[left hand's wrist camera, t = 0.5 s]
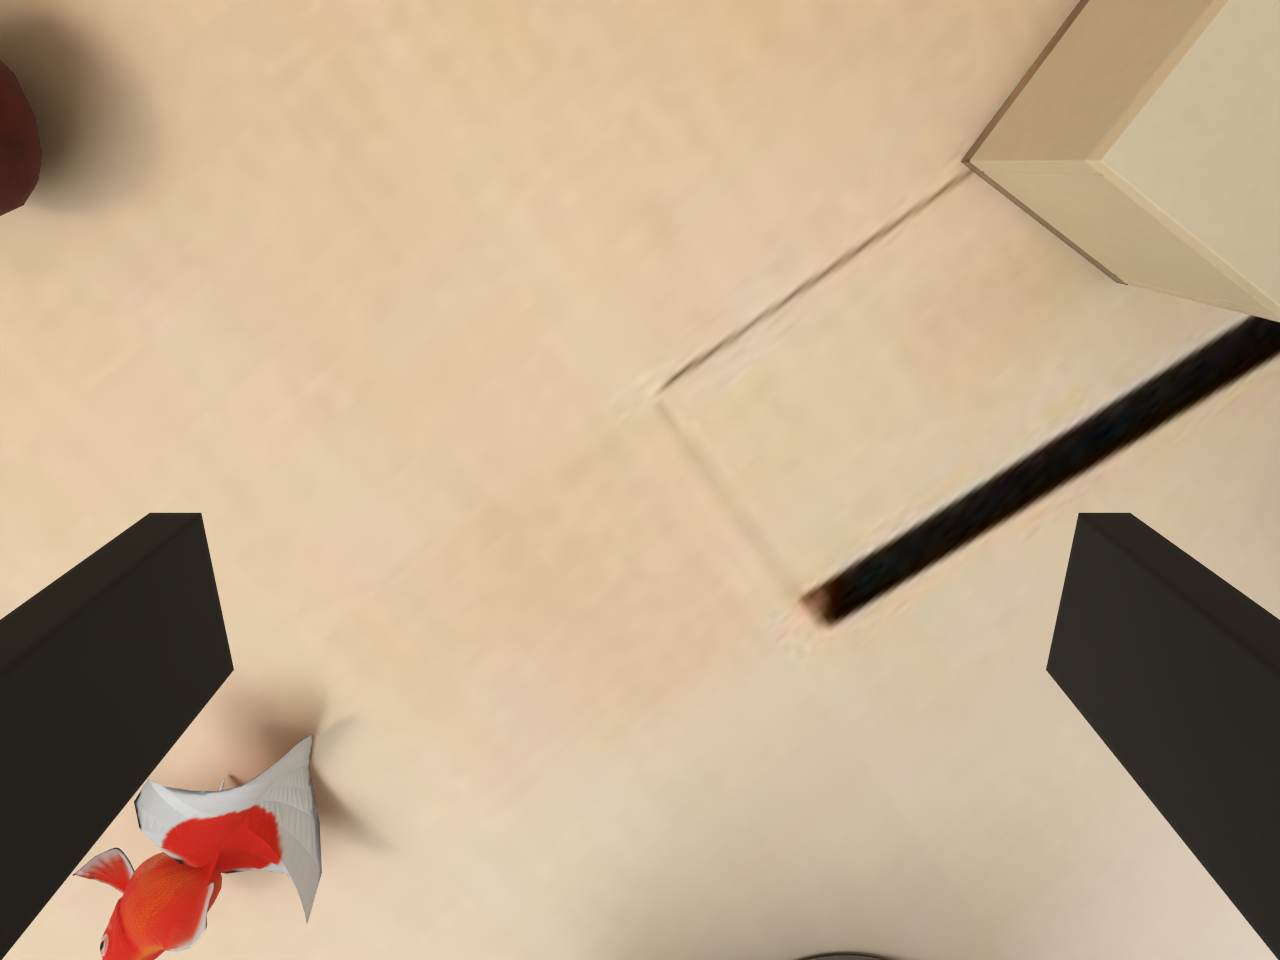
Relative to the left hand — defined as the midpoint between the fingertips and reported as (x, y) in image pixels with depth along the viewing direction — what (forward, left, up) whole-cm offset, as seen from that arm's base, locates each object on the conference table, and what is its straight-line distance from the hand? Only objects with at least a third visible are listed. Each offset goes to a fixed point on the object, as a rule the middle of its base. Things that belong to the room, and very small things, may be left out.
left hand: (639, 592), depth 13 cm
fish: (-28, +23, -27) cm, 45 cm away
